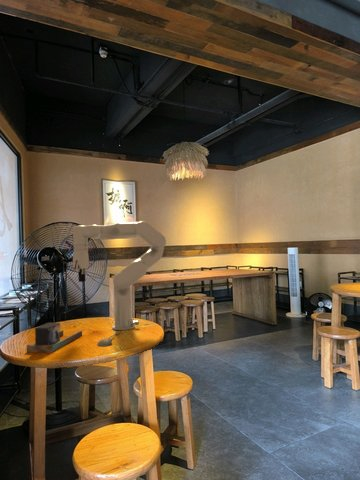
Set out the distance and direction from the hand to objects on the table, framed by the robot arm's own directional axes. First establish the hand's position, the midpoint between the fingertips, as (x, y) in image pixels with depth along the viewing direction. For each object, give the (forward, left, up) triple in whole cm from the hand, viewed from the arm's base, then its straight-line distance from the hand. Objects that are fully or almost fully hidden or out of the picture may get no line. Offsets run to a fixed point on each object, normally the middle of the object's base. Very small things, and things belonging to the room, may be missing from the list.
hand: (82, 281), depth 176 cm
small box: (+2, +30, -27) cm, 40 cm away
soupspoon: (-22, +15, -28) cm, 39 cm away
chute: (+2, +22, -27) cm, 35 cm away
